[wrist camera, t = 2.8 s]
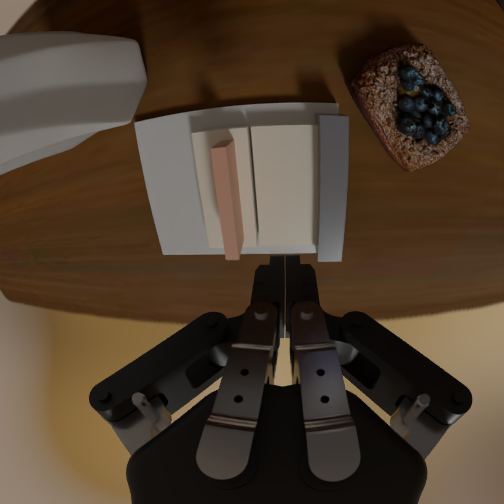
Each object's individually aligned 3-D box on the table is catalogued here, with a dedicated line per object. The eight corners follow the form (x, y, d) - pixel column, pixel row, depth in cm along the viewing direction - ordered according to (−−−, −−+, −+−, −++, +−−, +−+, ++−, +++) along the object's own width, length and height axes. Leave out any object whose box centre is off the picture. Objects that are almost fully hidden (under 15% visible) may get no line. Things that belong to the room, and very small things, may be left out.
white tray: (338, 103, 22) (348, 104, 19) (334, 248, 30) (340, 269, 27) (137, 121, 24) (118, 127, 21) (165, 251, 33) (153, 270, 29)
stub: (248, 125, 23) (240, 132, 19) (258, 239, 29) (253, 268, 25) (196, 130, 24) (176, 140, 19) (212, 240, 30) (200, 269, 25)
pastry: (408, 33, 16) (436, 24, 12) (464, 128, 21) (496, 139, 16) (331, 82, 21) (345, 79, 16) (398, 177, 25) (421, 197, 20)
